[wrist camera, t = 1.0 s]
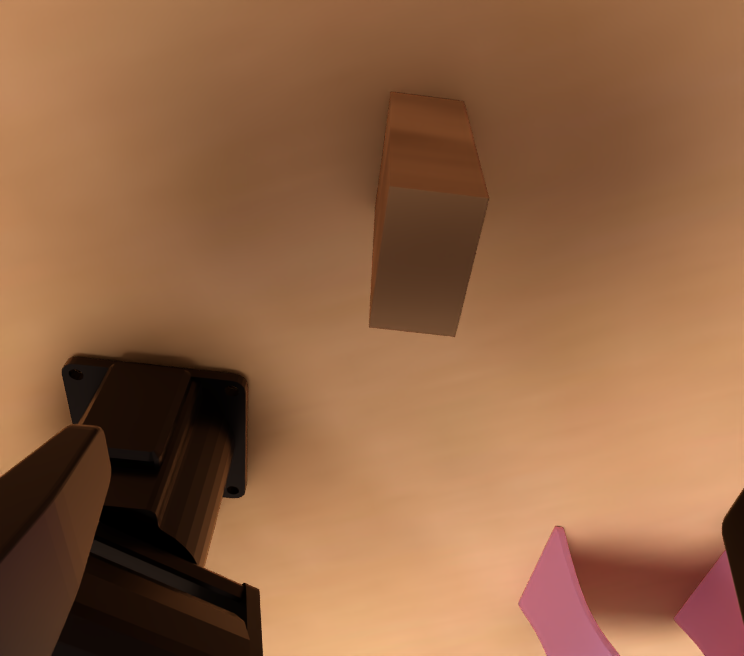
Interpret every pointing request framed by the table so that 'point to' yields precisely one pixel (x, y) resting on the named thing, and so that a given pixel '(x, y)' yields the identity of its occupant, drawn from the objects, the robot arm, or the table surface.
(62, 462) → the robot arm
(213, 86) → the table surface
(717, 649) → the toy chair
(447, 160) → the wooden rectangular block
